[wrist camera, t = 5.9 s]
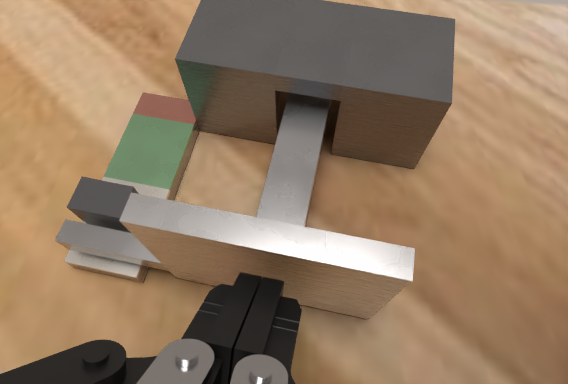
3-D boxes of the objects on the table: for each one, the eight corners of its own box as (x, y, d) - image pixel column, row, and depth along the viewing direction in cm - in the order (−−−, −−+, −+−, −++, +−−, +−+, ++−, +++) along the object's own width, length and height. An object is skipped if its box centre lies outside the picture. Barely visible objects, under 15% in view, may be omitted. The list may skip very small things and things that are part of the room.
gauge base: (420, 96, 24) (454, 19, 19) (399, 339, 18) (443, 319, 13) (170, 56, 25) (141, -25, 20) (74, 267, 19) (1, 225, 14)
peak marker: (149, 208, 19) (133, 186, 17) (138, 237, 19) (119, 218, 17) (103, 198, 20) (82, 176, 18) (90, 227, 19) (66, 207, 17)
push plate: (391, 123, 22) (432, 19, 16) (368, 319, 18) (412, 281, 12) (157, 83, 24) (111, -26, 18) (80, 256, 19) (-21, 192, 13)
